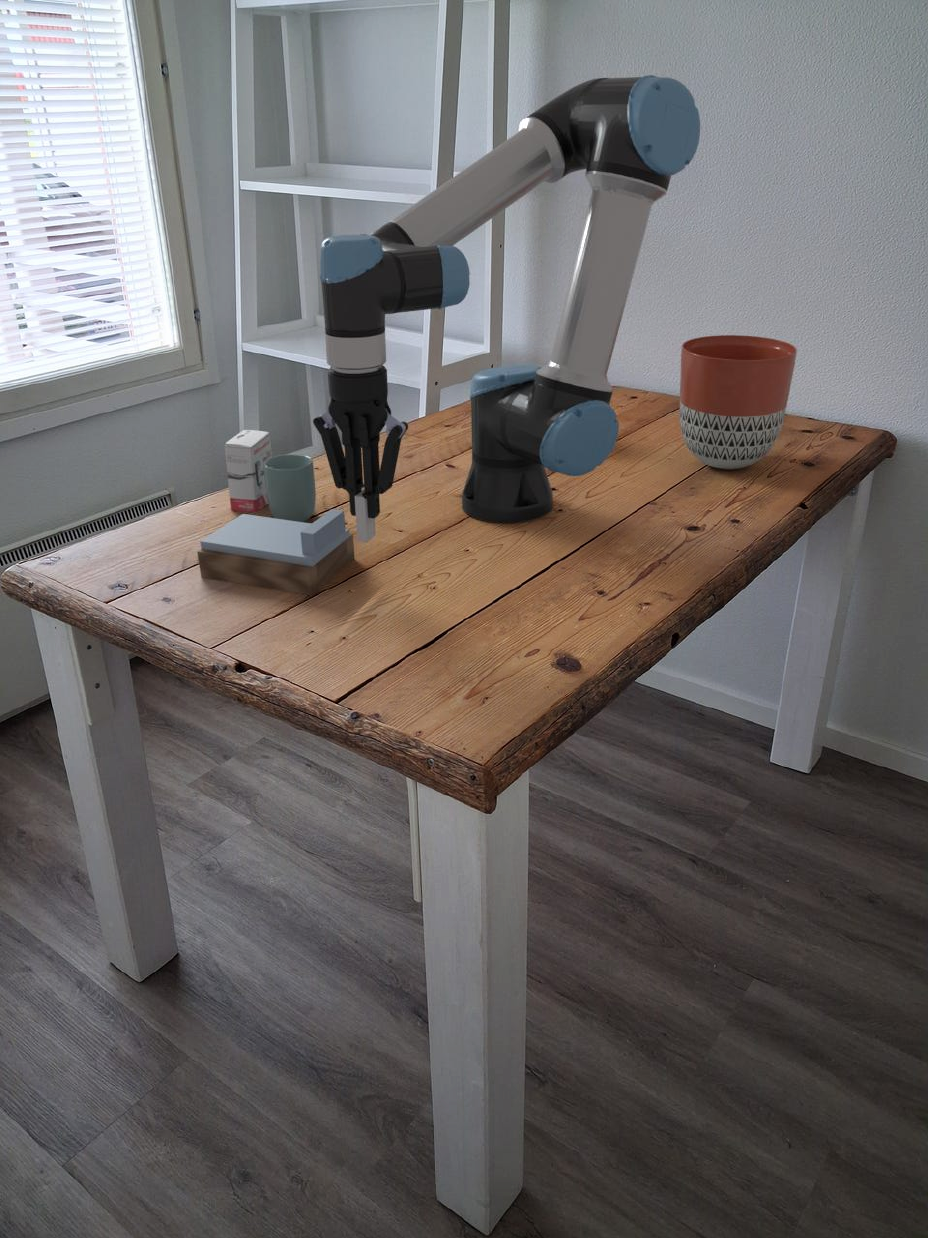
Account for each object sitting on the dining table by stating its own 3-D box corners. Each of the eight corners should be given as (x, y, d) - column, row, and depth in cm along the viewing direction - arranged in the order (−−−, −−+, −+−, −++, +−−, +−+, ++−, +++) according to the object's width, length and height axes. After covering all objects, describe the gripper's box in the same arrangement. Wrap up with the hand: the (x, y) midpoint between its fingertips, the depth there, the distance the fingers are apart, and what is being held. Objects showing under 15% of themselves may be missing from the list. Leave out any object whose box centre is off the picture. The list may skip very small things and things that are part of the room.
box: (354, 561, 149) (352, 533, 147) (311, 598, 138) (308, 569, 136) (250, 545, 155) (247, 518, 153) (201, 580, 144) (197, 551, 142)
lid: (349, 536, 146) (347, 508, 144) (312, 566, 137) (309, 536, 135) (243, 521, 152) (240, 493, 150) (201, 548, 143) (197, 520, 141)
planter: (661, 475, 180) (671, 355, 170) (683, 443, 195) (693, 331, 185) (773, 488, 173) (790, 364, 163) (786, 454, 189) (802, 338, 179)
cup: (326, 514, 166) (321, 456, 161) (304, 531, 159) (298, 471, 155) (284, 509, 168) (278, 452, 164) (261, 526, 162) (254, 467, 157)
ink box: (259, 514, 166) (250, 445, 161) (230, 513, 167) (221, 444, 162) (277, 496, 174) (270, 429, 168) (250, 494, 175) (242, 428, 169)
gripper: (416, 363, 128) (420, 534, 139) (325, 355, 132) (337, 522, 143) (390, 377, 122) (398, 555, 133) (297, 368, 126) (311, 541, 137)
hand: (366, 537), depth 138 cm, fingers closed
